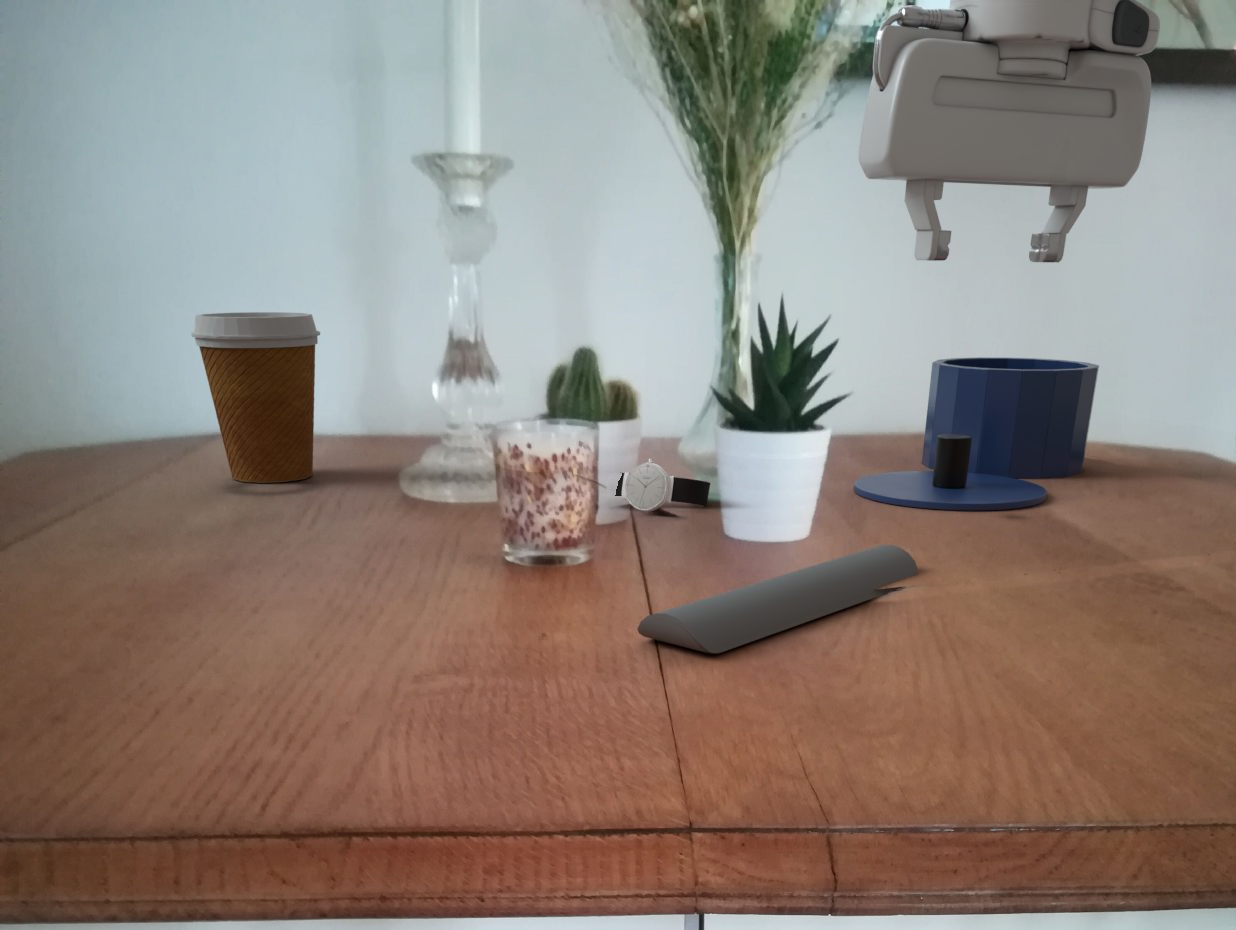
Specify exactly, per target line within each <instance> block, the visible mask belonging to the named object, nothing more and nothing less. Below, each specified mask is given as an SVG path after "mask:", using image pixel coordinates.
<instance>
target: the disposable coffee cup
mask: <svg viewBox="0 0 1236 930" xmlns="http://www.w3.org/2000/svg"><path fill="white" fill-rule="evenodd" d="M190 334H191V337H192V338H194V340H195V344H196V346H197V347H198V348H199V351H200V354H201V355H200V356H201V358H202V359H201V360H202V363H203V366H204V370H205V374H206V379H207V383H208V386H209V391H210V394H211V399H212V402H213V403H212V404H213V406H214V410H215V414H216V415H215V416H216V418H217V424H218V426H219V431H220V434H221V438H222V442H223V447H224V450H225V454H226V458H227V463H228V467H229V470H230V475H231V478H232V479H233V480H235V481H239V482H245V483H260V484H267V483H268V484H269V483H270V484H271V483H286V482H295V481H299V480H305V479H308V478H310V477H312V476H314V475H313V474H314V472H313V471H314V469H313V468H314V430H315V429H314V427H315V382H316V381H315V379H316V378H315V377H316V345H317V344H319V343H318V342H319V341H318V336H321V331H319V330H317V327H316V323H315V320H314V317H313V314H312V313H307V312H285V311H284V312H276V311H274V312H273V311H271V312H270V311H250V312H249V311H248V312H247V311H245V312H244V311H243V312H212V313H200V314H199V313H198V314H195V316H194V330H193V332H191V333H190Z"/></svg>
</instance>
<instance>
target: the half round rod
mask: <svg viewBox="0 0 1236 930" xmlns="http://www.w3.org/2000/svg"><path fill="white" fill-rule="evenodd" d="M918 574H919V569H918V565H917V564H916V561H915V559H914V558H913V556H911V554H910V553H909V552H908V551H906V550H905V549H903V548H902V547H900V546H897V545H894V544H880V545H877V546H873V547H870V548H867V549H864V550H860V551H857V552H853V553H851V554H847V555H844V556H841V557H837V558H834V559H831V560H827V561H823V562H820V563H818V564H814V565H810V566H808V567H804V568H800V569H798V570H794V571H791V572H787V573H784V574H781V575H778V576H775V577H770V578H767V579H765V580H761V581H759V582H755V583H751V584H747V585H745V586H741V587H739V588H735V589H732V590H729V591H725V592H722V593H718V594H715V595H712V596H709V597H705V598H701V599H698V600H696V601H692V602H689V603H686V604H682V605H679V606H675V607H673V608H669V609H666V610H663V611H659V612H656V613H652V614H649V615H647V616H646V617H644V618H643V619H642V620H641V621H640V622H639V625H638V627H637V631H638V634H639V635H641V636H642V637H644V638H648V639H652V640H656V641H660V642H664V643H667V644H672V645H676V646H679V647H682V648H687V649H691V650H694V651H699V652H703V653H706V654H720V653H724V652H726V651H729V650H732V649H735V648H737V647H740V646H743V645H746V644H748V643H751V642H754V641H757V640H760V639H763V638H765V637H769V636H771V635H774V634H776V633H777V634H778V633H780V632H783V631H785V630H788V629H791V628H793V627H796V626H800V625H803V624H805V623H807V622H810V621H813V620H815V619H819V618H821V617H824V616H827V615H830V614H833V613H836V612H838V611H842V610H843V609H847V608H850V607H852V606H856V605H858V604H861V603H863V602H866V601H869V600H872V599H875V598H877V597H880V596H883V595H887V594H889V593H892V592H895V591H897V590H900V589H902V588H905V587H906V586H907V585H906V586H896V587H886V588H883V587H885V586H888V585H891V584H893V583H896V582H900V581H902V580H904V579H908V578H911V577H914V576H916V575H918Z"/></svg>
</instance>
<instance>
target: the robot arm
mask: <svg viewBox="0 0 1236 930" xmlns="http://www.w3.org/2000/svg"><path fill="white" fill-rule="evenodd" d="M949 1H950V2H949V8H924V7H922V6H918V5H911V4H910V5H903V6H900V7H899V9H898V10H897V12H895V13H892V14H891V15H890V16H888V17H887V18H886V19H885V20H884V21H883V23H882V24H881V25H880V27H879V28H878V30H877V31H876V34H875V38H874V47H873V56H872V58H873V59H872V79H871V82H870V85H869V90H868V95H867V99H866V104H865V109H864V115H863V120H862V124H861V131H860V138H859V146H858V162H859V165H860V168H861V169H862V171H863V174H864V175H865V177H866V178H867V179H868V180H881V181H882V180H883V181H906V182H905V193H904V203H905V206H906V209H907V211H908V214H909V218H910V220H911V222H912V225H913V228H914V231H916V233H915V234H916V235H915V244H914V245H915V246H914V258H915V260H916V261H929V262H930V261H935V262H936V261H940V262H941V261H946V260H947V259H948V257H949V254H950V248H949V245H950V243H951V238H952V230H947V229H946V230H942V226H941V223H940V219H939V214H938V211H937V206H936V204H935V201H940V200H942V198H943V193H944V192H943V191H944V184H945V183H951V184H953V183H954V184H972V185H973V184H974V185H975V184H977V185H996V186H998V185H999V186H1020V187H1041V188H1043V187H1044V188H1050V189H1049V195H1048V196H1049V197H1048V206H1051V207H1052V206H1053V207H1054V208H1053V209H1052V211H1051V213H1050V215H1049V217H1048V219H1047V221H1046V223H1045V225H1044V227H1043V229H1042V231H1041V233H1032V234H1031V237H1030V247H1031V248H1030V250H1029V252H1028V258H1029V259H1028V260H1029V261H1030V262H1032V263H1060V262H1061V261H1062V260H1063V257H1064V253H1065V246H1066V241H1067V240H1066V239H1067V234H1069V233H1070V231H1071V230H1072V229H1073V226H1074V225H1075V223H1076V222H1077V221H1078V218H1079V217H1080V215H1081V214H1082V212H1083V210H1084V209H1085V208H1086V205H1087V204H1086V203H1087V198H1088V192H1089V190H1090V189H1091V190H1098V189H1099V190H1101V189H1102V190H1103V189H1104V190H1105V189H1106V190H1107V189H1119V188H1124V187H1126V185H1128V183H1129V182H1130V181H1131V180H1132V179H1133V177H1134V175H1135V174H1136V172H1137V171H1138V169H1139V167H1140V164H1141V160H1142V157H1143V151H1144V145H1145V141H1146V134H1147V129H1148V128H1147V127H1148V122H1149V113H1150V105H1151V96H1152V76H1151V71H1150V68H1149V65H1148V64H1147V62H1146V61H1145V60H1144V59H1143V58H1142V57H1141V56H1142V55H1146V54H1150V53H1151V52H1153V51H1154V50H1155V48H1156V46H1157V44H1158V40H1159V36H1160V30H1161V19H1160V17H1159V16H1158V15H1157V13H1156V12H1155V11H1153V10H1151V9H1150V8H1149V7H1147V6H1145V4H1142V3H1141V2H1140V1H1138V0H949ZM895 22H896V24H897V25H894V24H893V23H895Z"/></svg>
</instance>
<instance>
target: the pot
mask: <svg viewBox="0 0 1236 930" xmlns="http://www.w3.org/2000/svg"><path fill="white" fill-rule="evenodd" d="M931 363H932V364H931V372H930V380H929V381H930V383H929V390H928V391H929V392H928V400H927V401H928V402H927V410H926V420H925V428H924V429H925V430H924V437H923V446H922V447H923V448H922V457H921V464H922V465H923V466H925V467H926V468H928V469H930V470H934V463H935V454H936V445H937V437H938V435H941V434H962V435H968V436H971V437H972V441H971V450H970V458H969V466H968V473H978V474H987V475H996V476H1003V477H1009V478H1015V479H1019V480H1044V479H1045V480H1046V479H1057V478H1058V479H1060V478H1068V477H1072V476H1076V475H1079V474H1081V473H1082V472H1083V468H1084V462H1085V456H1086V449H1087V444H1088V437H1089V430H1090V424H1091V417H1092V412H1093V406H1094V400H1095V394H1096V388H1097V383H1098V382H1097V381H1098V376H1099V369H1100V365H1099V364H1096V363H1090V362H1087V361H1076V360H1069V359H1068V360H1066V359H1053V358H1036V357H1034V358H1033V357H1032V358H1030V357H990V356H989V357H987V356H986V357H985V356H984V357H981V356H980V357H951V358H941V359H936V360H935V361H933V362H931Z"/></svg>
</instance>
